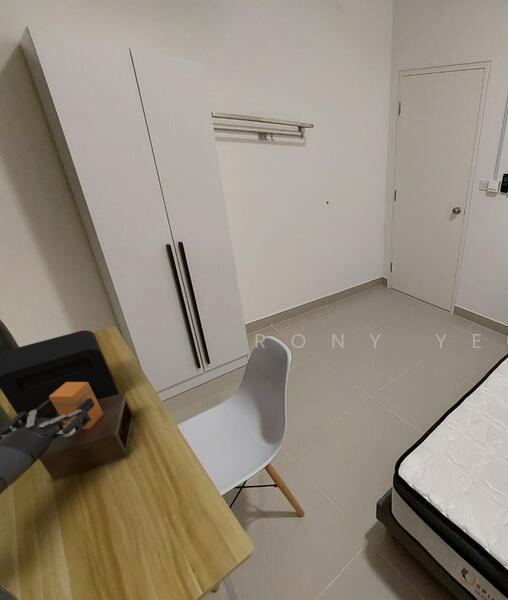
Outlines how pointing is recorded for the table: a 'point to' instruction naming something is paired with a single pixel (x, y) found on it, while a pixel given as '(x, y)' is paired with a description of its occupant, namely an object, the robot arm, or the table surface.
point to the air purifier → (53, 370)
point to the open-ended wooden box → (92, 441)
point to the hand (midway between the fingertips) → (72, 401)
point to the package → (75, 400)
